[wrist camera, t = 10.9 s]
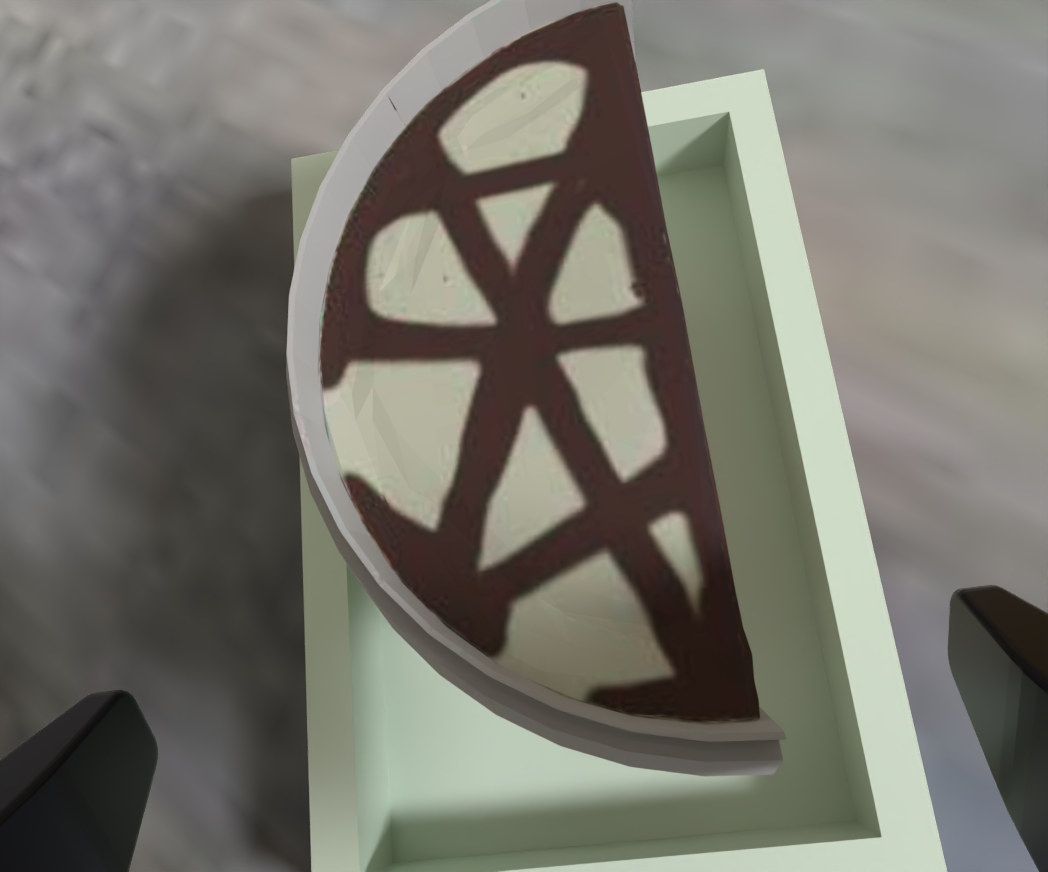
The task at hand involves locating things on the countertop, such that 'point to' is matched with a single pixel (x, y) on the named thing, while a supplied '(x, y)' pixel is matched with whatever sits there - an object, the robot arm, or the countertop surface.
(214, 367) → the countertop surface
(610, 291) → the food container
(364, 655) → the tray
